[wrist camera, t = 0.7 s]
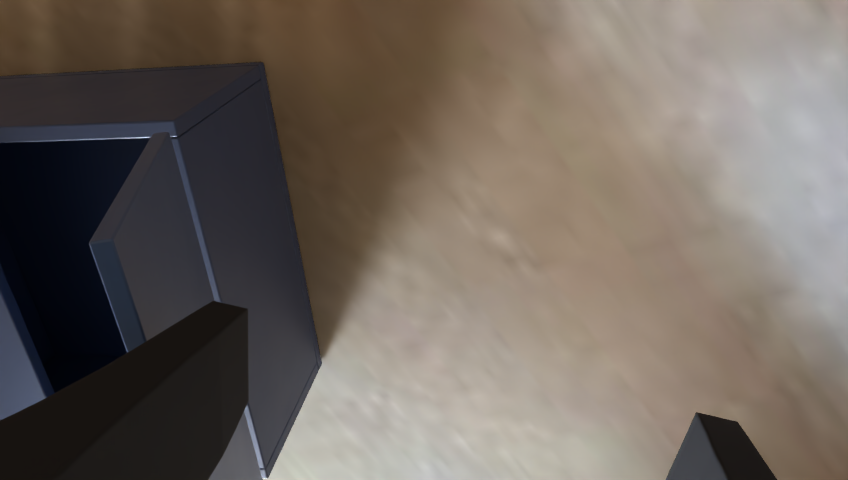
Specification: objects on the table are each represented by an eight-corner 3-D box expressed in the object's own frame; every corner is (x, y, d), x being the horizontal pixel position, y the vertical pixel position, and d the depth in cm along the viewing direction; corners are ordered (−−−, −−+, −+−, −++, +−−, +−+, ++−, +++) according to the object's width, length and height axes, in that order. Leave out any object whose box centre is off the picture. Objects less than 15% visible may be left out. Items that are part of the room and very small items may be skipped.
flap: (152, 133, 14) (169, 131, 15) (254, 496, 19) (266, 494, 19) (86, 242, 10) (112, 238, 10) (242, 684, 15) (259, 681, 15)
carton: (263, 61, 20) (156, 131, 14) (322, 363, 25) (258, 499, 19) (-58, 79, 22) (-257, 145, 16) (56, 355, 27) (-69, 476, 21)
